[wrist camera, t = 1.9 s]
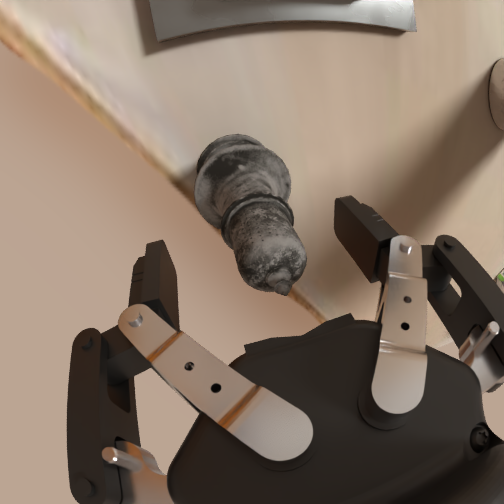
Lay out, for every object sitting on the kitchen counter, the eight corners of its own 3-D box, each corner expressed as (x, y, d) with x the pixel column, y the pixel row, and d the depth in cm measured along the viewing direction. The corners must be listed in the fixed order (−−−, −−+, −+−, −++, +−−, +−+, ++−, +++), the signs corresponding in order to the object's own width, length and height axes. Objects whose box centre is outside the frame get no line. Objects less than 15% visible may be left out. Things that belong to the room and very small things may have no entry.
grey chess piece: (258, 213, 22) (313, 343, 13) (183, 197, 20) (188, 338, 11) (287, 144, 19) (385, 244, 10) (207, 119, 17) (235, 205, 8)
